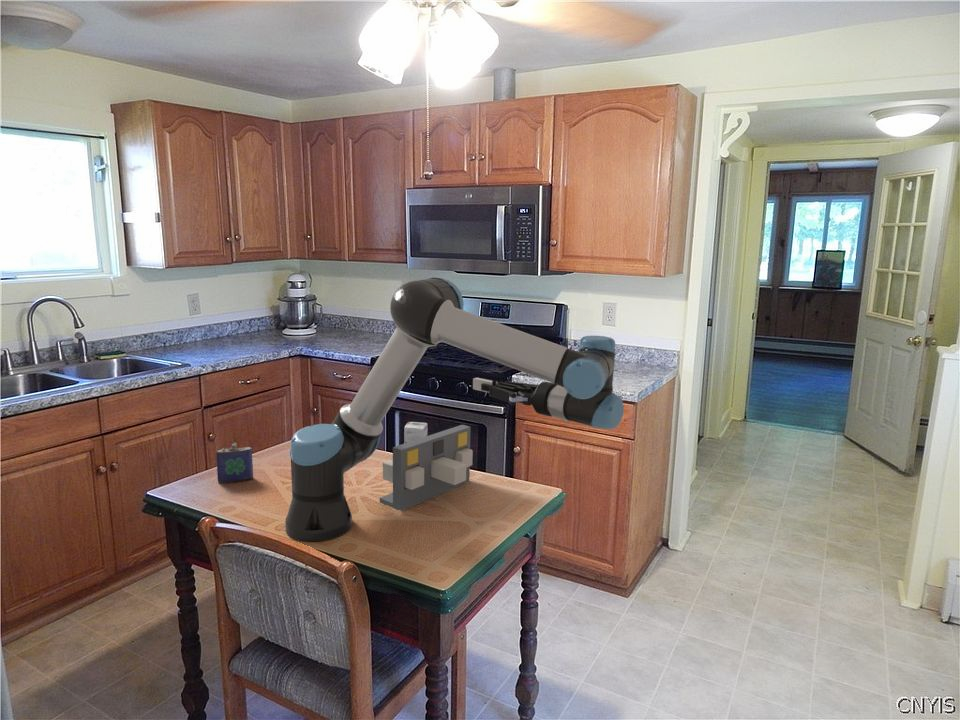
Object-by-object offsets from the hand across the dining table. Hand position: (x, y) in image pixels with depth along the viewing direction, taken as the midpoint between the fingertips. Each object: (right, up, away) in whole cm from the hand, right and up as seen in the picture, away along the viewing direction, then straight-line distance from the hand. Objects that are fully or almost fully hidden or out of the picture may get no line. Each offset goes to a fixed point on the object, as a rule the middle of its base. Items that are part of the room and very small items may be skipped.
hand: (474, 383), depth 157 cm
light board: (-13, -30, +13) cm, 35 cm away
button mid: (-8, -25, +8) cm, 27 cm away
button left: (-18, -25, +5) cm, 32 cm away
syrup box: (-17, -27, +27) cm, 42 cm away
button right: (-6, -23, +19) cm, 30 cm away
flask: (-66, -28, +18) cm, 74 cm away
